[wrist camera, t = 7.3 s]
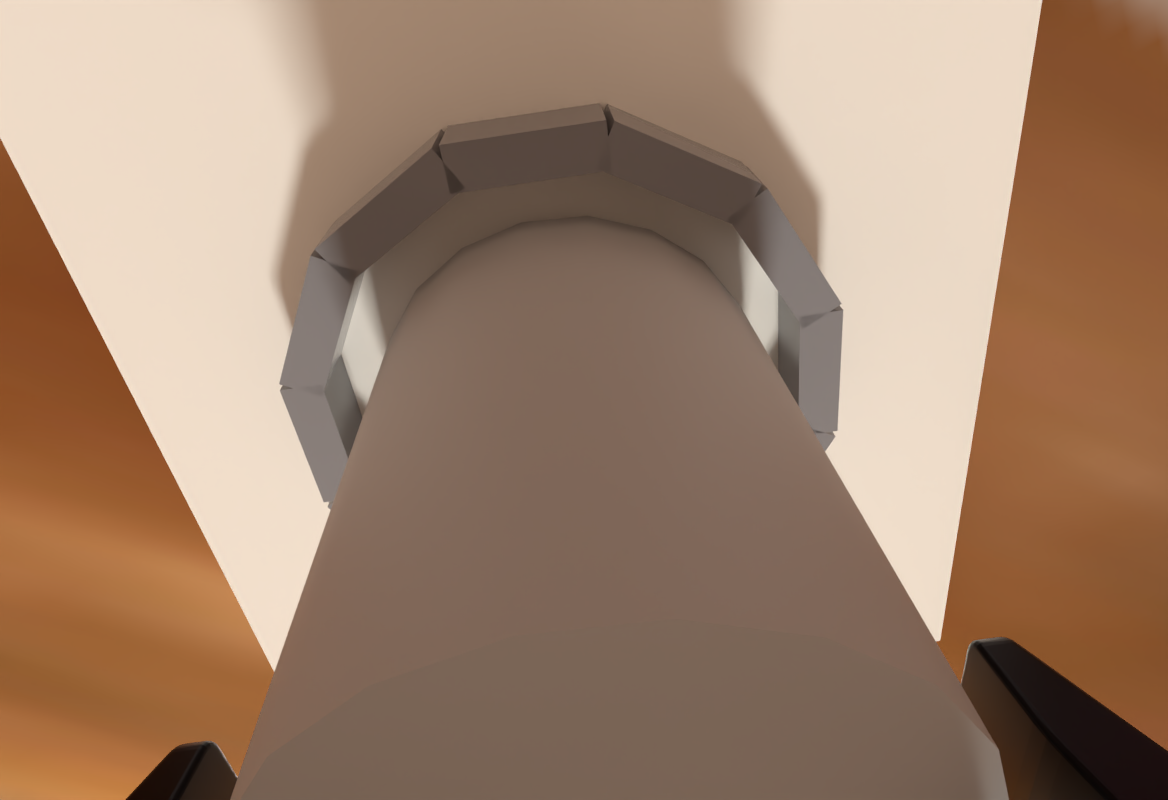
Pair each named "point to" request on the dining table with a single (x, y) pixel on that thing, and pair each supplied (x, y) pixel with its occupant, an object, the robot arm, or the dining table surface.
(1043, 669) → the robot arm
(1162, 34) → the dining table surface
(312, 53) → the platter
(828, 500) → the can
